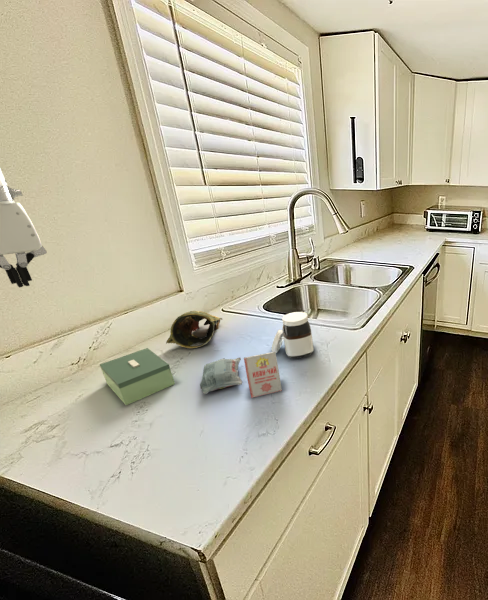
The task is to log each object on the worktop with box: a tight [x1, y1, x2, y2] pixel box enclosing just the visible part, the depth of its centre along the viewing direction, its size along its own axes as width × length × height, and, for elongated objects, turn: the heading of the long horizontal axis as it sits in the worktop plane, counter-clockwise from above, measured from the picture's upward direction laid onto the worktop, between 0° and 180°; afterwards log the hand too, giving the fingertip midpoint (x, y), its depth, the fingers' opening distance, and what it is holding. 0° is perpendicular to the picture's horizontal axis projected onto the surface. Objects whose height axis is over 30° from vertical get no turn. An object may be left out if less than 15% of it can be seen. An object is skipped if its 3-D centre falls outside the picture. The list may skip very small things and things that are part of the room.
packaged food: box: [199, 357, 243, 395], centre depth 81 cm, size 9×12×5 cm
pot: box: [165, 310, 223, 349], centre depth 103 cm, size 17×11×18 cm
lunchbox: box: [99, 347, 176, 406], centre depth 80 cm, size 6×14×10 cm
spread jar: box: [270, 311, 314, 360], centre depth 93 cm, size 12×11×12 cm
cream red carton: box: [243, 351, 283, 399], centre depth 77 cm, size 4×7×10 cm, turn 113°
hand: (23, 285), depth 70 cm, fingers closed
